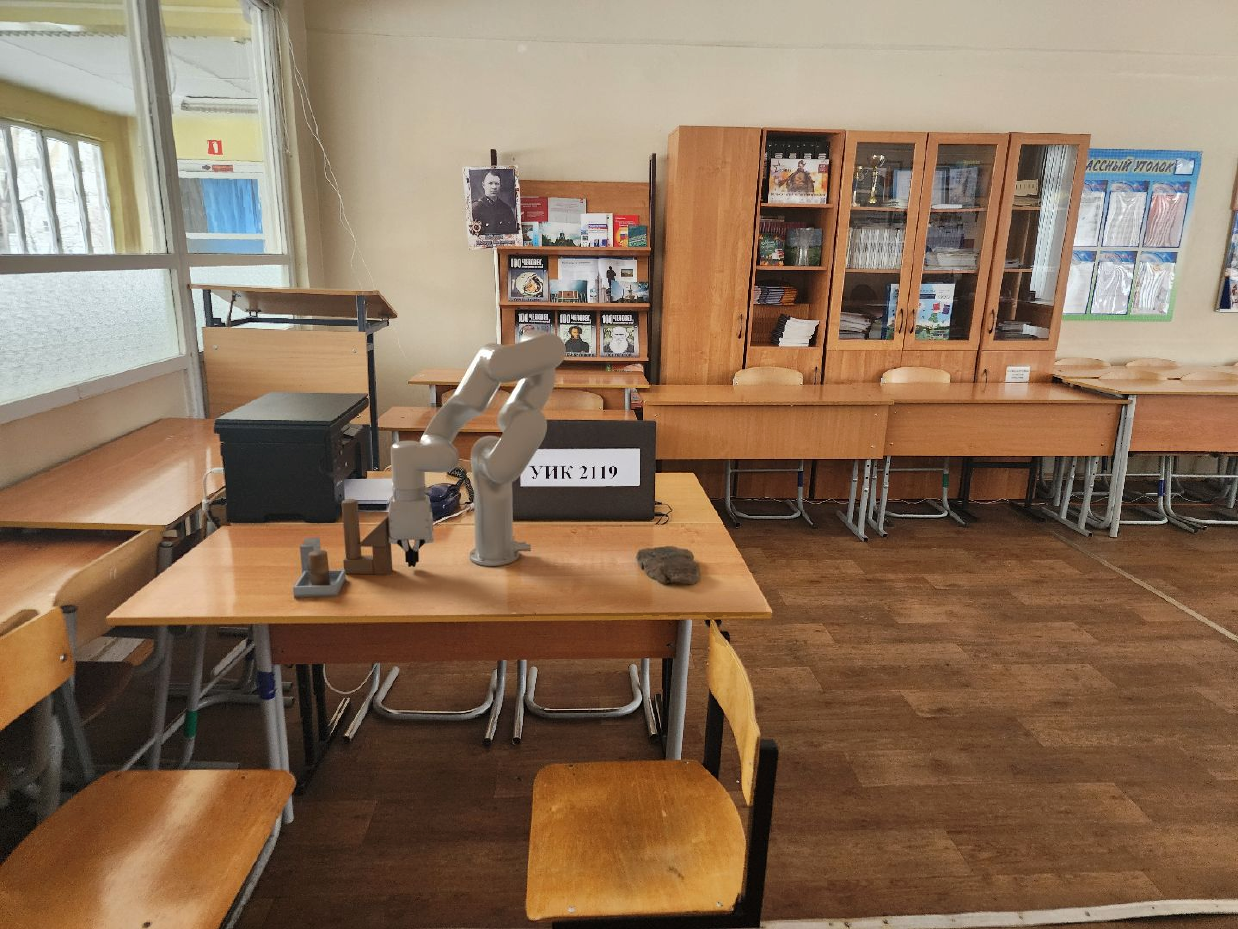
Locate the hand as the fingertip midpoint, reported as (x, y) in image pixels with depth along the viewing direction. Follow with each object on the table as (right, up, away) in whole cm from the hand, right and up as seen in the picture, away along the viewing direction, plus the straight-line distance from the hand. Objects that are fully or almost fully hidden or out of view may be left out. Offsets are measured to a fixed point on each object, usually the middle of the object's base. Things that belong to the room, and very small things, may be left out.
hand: (412, 564), depth 182 cm
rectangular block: (-23, -2, -3) cm, 23 cm away
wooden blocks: (-10, -2, -1) cm, 11 cm away
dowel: (-18, -3, -11) cm, 21 cm away
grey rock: (+63, -3, +3) cm, 64 cm away
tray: (-18, -4, -11) cm, 21 cm away
